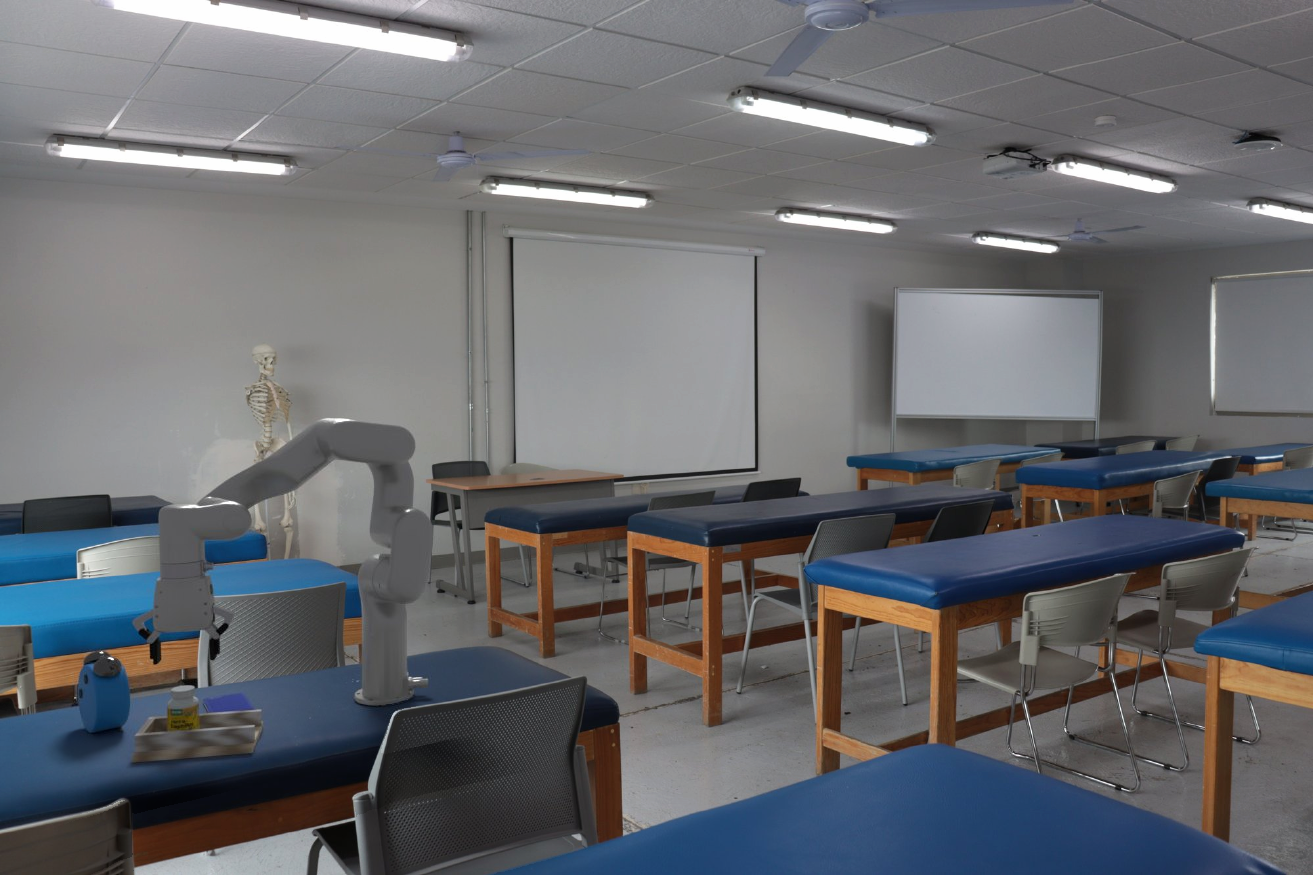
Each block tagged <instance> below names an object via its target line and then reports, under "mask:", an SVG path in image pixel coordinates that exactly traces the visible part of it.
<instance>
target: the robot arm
mask: <svg viewBox="0 0 1313 875" xmlns="http://www.w3.org/2000/svg"><path fill="white" fill-rule="evenodd" d="M415 451H416V440H415V438H414V436H413V434H412V433H411V431H410V430H409V429H407V428H406V427H403V426H401V425H394V424H385V423H377V422H369V421H367V422H366V421H360V420H356V419H350V418H335V417H333V418H332V417H325V418H322V419H318V420H317V421H314V422H313V423H312V424H310V425H309V426H308V427H306V428H305V429H303V430H302V431H301V432H299V433H298V434H297V435H295V437H293V438H292V439H291V440H289V441H287V442H286V443H285V444H283V445H282V446H281V447H279V448H278V449H277V450H276V451H274V452H273V453H271V454H270V455H268V456H267V457H265V458H264V459H262V460H260V461H258V462H256V463H254V464H253V465H250V466H249V467H247V468H245V469H243V470H241V471H240V472H238V473H236V474H234V475H232V476H231V477H230V478H227V479H226V480H225V481H223V482H222V483H220V484H219V485H218V486H216V487H215V488H214V489H212V490H211V491H210V492H209V493H207V494H206V495H205V496H203V497H202V498H200V500H199V501H198V502H197V503H175V504H169V505H165V506H162V507H161V508H160V509H159V512H158V539H159V540H158V541H159V542H158V544H159V549H158V550H159V573H160V574H159V575H160V576H159V577H158V578H157V579H156V583H155V586H154V593H153V605H152V609H150V610H148V611H147V612H145V613H143V614H141V615H139V616H137V617H135V618H134V619H133V620H132V626H134V628H135V630H136V632H138V635H139V636H140V637H142V638H143V640H145V641H146V643H147V644H149V645H148V646H149V660H152V665H153V666H155V665H158V664H159V663H160V662H161V661H162V640H161V639H160V638H159V637H160V636H161V635H162V634H163V633H165V634H166V633H167V634H168V633H183V632H194V631H195V632H197V631H205V632H206V633H207V634H208V635H209V636H210V639H209V641H208V642H209V643H208V644H209V645H208V646H209V661H215V660H216V659H217V657H218V655H220V653H221V642H220V641H221V638H220V637H221V636H222V635H223V634H224V633H225V632H226V631H227V630H228V629H229V627H230V625H231V623H232V622H233V619H234V617H235V615H236V613H235V612H233V611H231V610H229V609H225V608H223V607H222V606H219V605H216V602H215V593H214V587H213V581H212V576H211V575H210V574H206V573H207V571H213V570H214V566H215V565H214V562H209V561H208V560H207V558H206V555H205V554H206V553H205V549H206V548H205V541H233V540H237V539H240V538H242V537H243V536H244V535H246V534H247V533H248V531H249V530H250V529H251V527H252V523H253V522H252V521H253V520H252V515H251V513H250V511H249V509H251V508H253V507H254V506H255V505H257V504H259V503H261V502H264V501H266V500H268V499H272V498H276V497H279V496H280V497H281V496H284V495H286V494H289V493H291V492H294V491H297V490H298V489H300V488H301V487H302V486H303V485H305V484H306V483H307V482H308V481H309V480H311V479H312V478H313V477H314V476H316V475H317V474H318V473H319V472H321V471H322V470H323V469H325V468H326V467H328V465H330V463H332V462H333V461H337V460H338V461H346V462H352V463H353V462H355V463H361V464H366V465H367V467H368V468H369V470H370V472H371V474H372V478H373V497H372V504H371V512H370V513H371V514H370V521H369V536H370V538H371V540H372V541H373V543H374V544H376V545H378V546H380V547H382V548H387V549H390V553H384V552H383V553H376V554H372V555H369V557H367V558H366V559H365V560H364V561H363V562H362V563H361V565H360V567H359V570H358V574H357V575H358V576H357V585H358V586H357V587H358V590H359V591H358V592H359V598H360V603H361V688H360V689H358V690H357V691H355V693H354V697H353V698H354V701H355V702H356V703H358V704H361V705H366V706H372V707H373V706H377V707H379V705H381V706H387V705H386V704H392V703H395V702H399V701H402V700H405V699H407V698H409V697H411V696H412V695H413V694H414V695H415V689H425V688H426V689H427V688H429V678H423V677H422V676H421V677H412V676H409V671H408V612H407V611H408V610H407V607H406V605H409V604H413V603H415V602H417V601H418V600H419V599H421V598H422V596H423V595H424V594H425V591H426V589H427V586H428V581H429V578H430V570H431V569H430V568H431V561H432V554H433V552H432V551H433V544H434V542H433V541H434V528H433V524H432V522H431V519H430V518H429V516H428V515H427V514H426V513H425V512H424V511H423V510H421V509H419V508H414V507H413V506H414V488H415V479H414V478H415V477H414V473H413V470H412V466H411V464H410V462H409V460H411V458H412V457H413V456H414V453H415ZM216 615H217V616H219V617H221V618H223V619H224V620H223V623H222V624H221V625H220V626H219V627H218V626H217V625H216V624H215V622H216V619H217V616H216ZM151 618H152V626H153V631H151V630H150V629H149V628H148V627H146V625H145V622H146V621H148V620H151ZM392 705H393V704H392Z"/></svg>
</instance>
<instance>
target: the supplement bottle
mask: <svg viewBox="0 0 1313 875" xmlns="http://www.w3.org/2000/svg"><path fill="white" fill-rule="evenodd" d="M195 693H196V687H195V686H194V685H191V684H190V685H188V684H187V685H180V686H174V687H173V688H171V689H170V697H171V699H170V700H169V701H168V702H167V704H166V705H167V708H166V710H167V711H166V713H167V714H166V716H167V731H179V730H193V729H199V714H200V700H199V698H197V697H196V696H195Z"/></svg>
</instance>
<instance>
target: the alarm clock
mask: <svg viewBox="0 0 1313 875" xmlns="http://www.w3.org/2000/svg"><path fill="white" fill-rule="evenodd" d="M82 665H83V666H81V669H80V672H79V675H78V682H77V700H78V708H79V714H80V720H81V721H82V724H83V727H84V728H85V730H86V731H87V732H88V733H91V734H93V733H97V732H102V731H106V730H112V729H116V728H118V729H119V731H120V732H122V731H123V728H122V727H123V726H125V725H126V723H127V721H128V719H129V716H130V712H131V690H130V689H131V688H130V684H129V678H128V674H127V671H126V669H125V666H124V664H123V663H122V661H120V660H119V658H118V657H114V656H111V654H110V653H109V652H108V651H105V650H97V649H96V650H94V651H92V652H90V653H88V654H87V655H86V656H85V657H84V659H83V661H82Z"/></svg>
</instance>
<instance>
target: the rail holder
mask: <svg viewBox="0 0 1313 875" xmlns="http://www.w3.org/2000/svg"><path fill="white" fill-rule="evenodd" d="M263 728H264V721H263V709H255V710H245V711H230V712H216V713H208V712H204V713H203V712H202V713H199V729H193V730H179V731H167V715H164V716H163V715H161V716H150V717H148V718H147V720H146V721H145V722H144V723H143V725H142V726H141V727H140V729H139V730H138V731H137V732H136V733H135V735H134V752H133V754H132V756H131V763H143V762H154V761H155V762H156V761H167V760H180V759H181V760H182V759H190V758H193V759H194V758H205V757H217V756H228V755H230V756H231V755H241V754H243V755H244V754H253V753H254V750H255V748H256V746H257V743H258V741H259V739H260V735H261V734H262V731H263V730H264V729H263Z"/></svg>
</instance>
